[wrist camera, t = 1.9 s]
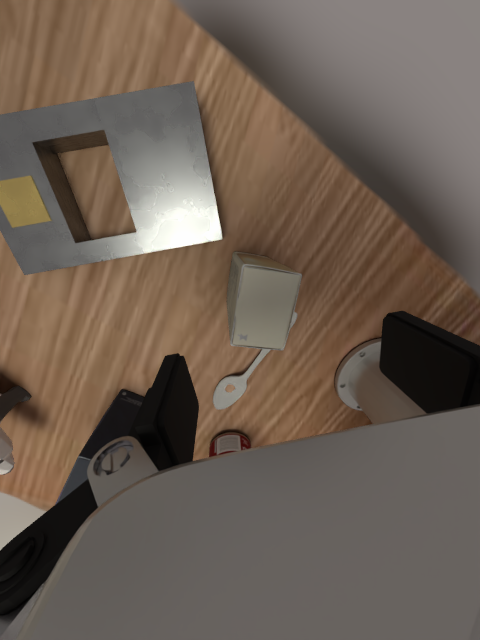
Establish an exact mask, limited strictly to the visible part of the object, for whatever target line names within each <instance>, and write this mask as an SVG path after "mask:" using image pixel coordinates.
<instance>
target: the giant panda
mask: <svg viewBox="0 0 480 640" xmlns="http://www.w3.org/2000/svg"><path fill="white" fill-rule="evenodd" d="M30 398H31V395H30V394H29V393H28V392H27V391H25V390H24V389H23V388H21V387H20V386H16V387H13V388H11V389H10V390H8V391H7V392H5V393H3V394H0V423H1V421H2V419H3V418H4V417H5V416H6V414H7V413H8V412H9V411H10V410H11V409H12V408H13V407H14V406H15V405H16V404H17V403H18V402H20V401H21V402H23V401H27V400H29V399H30ZM12 451H13V445H12V441H11V439H10V438H9V437H8V436H7V435H6V433H5V432H4V431H3V430H2V428H0V474H3V475H4V474H7V473H9V472H11V470H12V469H13V467H14V463H15V462H14V458H13V455H12V453H11V452H12Z"/></svg>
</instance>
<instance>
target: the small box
mask: <svg viewBox="0 0 480 640" xmlns="http://www.w3.org/2000/svg"><path fill="white" fill-rule="evenodd" d="M143 400H144V397H142V396H139V395H136V394H134V393H132V392H129V391H126V390H123V389H122V390H121V391H120V392H119V394H118V395H117V397H116V398H115V399H114V401H113V402H112V404H111V405H110V407H109V408H108V410H107V411H106V413H105V414H104V416H103V418H102V419H101V421H100V422H99V424H98V425H97V427H96V429H95V430H94V432H93V433H92V435H91V436H90V438H89V440H88V441H87V443H86V444H85V446H84V448H83V449H82V451H81V453H80V454H79V456H78V458H77V460H76V462H75V465H74V467H73V469H72V471H71V473H70V475H69V477H68V479H67V481H66V483H65V485H64V487H63V490H62V492H61V494H60V496H59V498H58V500H57V502H56V504H57V503H58V502H60V501H61V500H62V499H63V498H65V497H66V496H67V495H68V494H70V493H71V492H72V491H73V490H75V489H76V488H77V487H78V486H80V485H81V484H82V483H83V482H85V481H86V480H87V479H88V476H87V469H88V466H89V463H90V462H91V460H92V458H93V457H94V455H95V454H96V453H97V452H98V451H99V450H100V449H101V448H102V447H104V446H105V445H106V444H108V443H109V442H111V441H113V440H115V439H117V438H120V437H125V436H128V433H129V431H130V429H131V427H132V424H133V422H134V420H135V418H136V415H137V413H138V411H139V409H140V407H141V404H142V402H143ZM56 504H55V505H56Z"/></svg>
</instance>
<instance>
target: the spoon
mask: <svg viewBox="0 0 480 640" xmlns="http://www.w3.org/2000/svg"><path fill="white" fill-rule="evenodd" d="M296 318H297V313H296V312H294V314H293V318H292V323H291V327H292V326H293V325H294V323H295V321H296ZM291 327H290V328H291ZM269 351H270V350H268V349H262V350H261V352H260V354H259V355H258V356H257V358H256V359H255V361H254V362H253V363H252V365H251V366H250V367H249V368H248V370H247V371H246V372H245V373H244V374H243V375H241V376H229V377H225V378H224V379H223V380H221V381H220V382H219V384H218V385H217V387H216V390H215V392H214V396H213V403H214V406H215V408H216V409H225V408H227V407H229V406H230V405H232V404H233V403H234V402H235V401H236V400H238V399H239V398H240V397H241V396H242V395H243V393H244V392H245V390H246V387H247V383H246V381H247V379H248V377H249V376H250V374H251V373H252V372H253V370H254V369H255V367H256V366H257V365H258V364H259V363H260V361H261V360H262V359H263V358H264V357H265V355H266V354H267V353H268V352H269ZM227 384H232V385H234V387H235V390H233V391H232V392H231V393H229V392H226V391H225V388H226V386H227Z"/></svg>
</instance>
